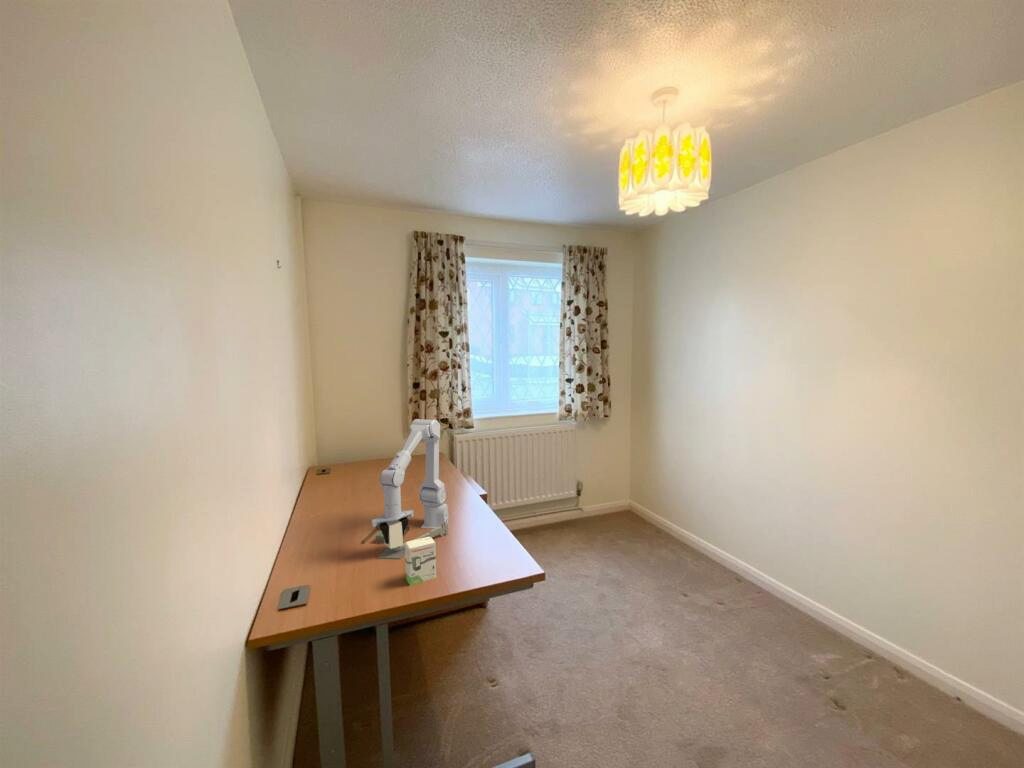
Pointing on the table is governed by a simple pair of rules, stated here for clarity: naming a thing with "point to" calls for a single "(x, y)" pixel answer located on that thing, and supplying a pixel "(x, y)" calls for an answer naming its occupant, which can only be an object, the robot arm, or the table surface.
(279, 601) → the table surface
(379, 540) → the block
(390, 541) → the cream tapered prism
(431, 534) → the caliper
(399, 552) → the mat
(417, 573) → the ink box
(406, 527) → the frame
